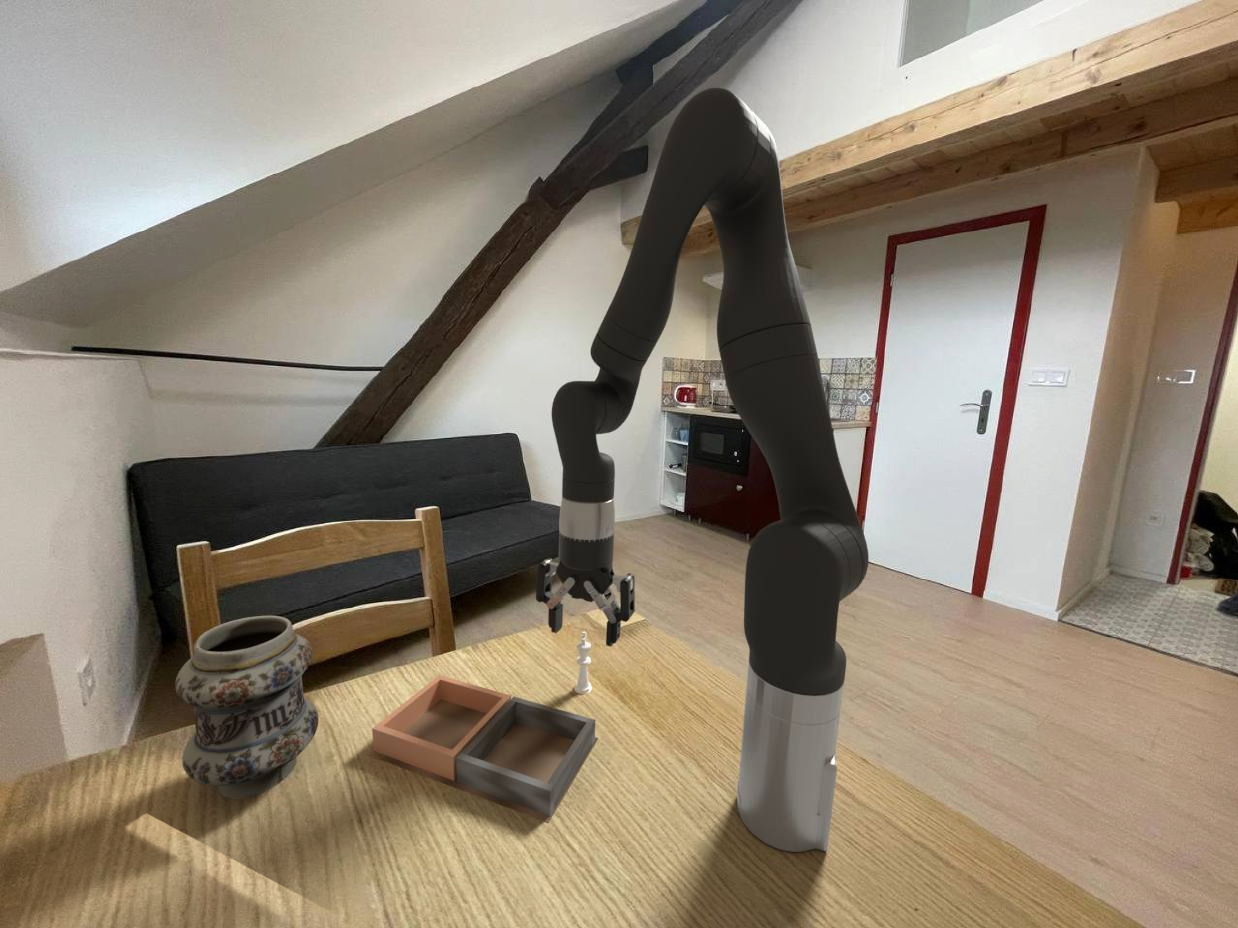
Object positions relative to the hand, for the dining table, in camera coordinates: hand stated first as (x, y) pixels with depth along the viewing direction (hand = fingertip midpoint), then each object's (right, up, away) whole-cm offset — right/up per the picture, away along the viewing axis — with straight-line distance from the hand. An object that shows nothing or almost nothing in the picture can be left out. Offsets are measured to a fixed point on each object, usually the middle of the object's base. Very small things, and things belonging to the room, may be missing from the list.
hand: (583, 636), depth 72 cm
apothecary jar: (-35, -11, -15) cm, 40 cm away
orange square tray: (-17, -9, -9) cm, 21 cm away
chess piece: (0, -9, +1) cm, 9 cm away
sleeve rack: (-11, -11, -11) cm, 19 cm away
